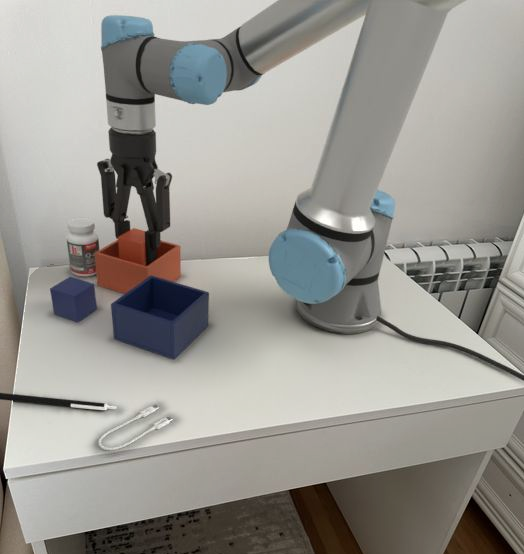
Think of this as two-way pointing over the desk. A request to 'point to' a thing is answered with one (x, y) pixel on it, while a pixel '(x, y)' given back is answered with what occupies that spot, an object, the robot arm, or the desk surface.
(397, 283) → the desk surface
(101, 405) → the pen
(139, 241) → the terracotta block
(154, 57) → the robot arm
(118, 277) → the terracotta bin
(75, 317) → the navy block
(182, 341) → the navy bin
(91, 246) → the pill bottle
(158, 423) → the electronic cable
